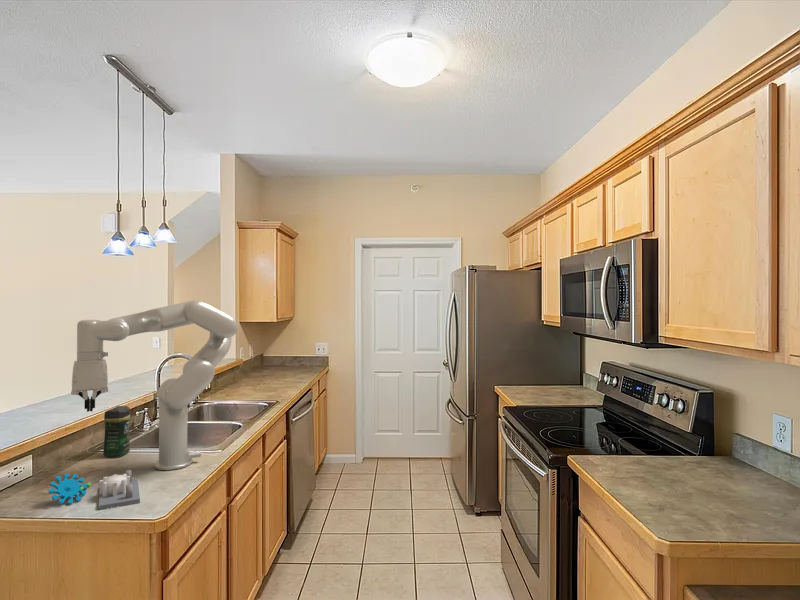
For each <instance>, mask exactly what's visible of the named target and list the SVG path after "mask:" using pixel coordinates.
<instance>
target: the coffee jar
mask: <svg viewBox="0 0 800 600" xmlns="http://www.w3.org/2000/svg"><path fill="white" fill-rule="evenodd" d="M103 419H104V420H103V421H104V439H103V440H104V442H103V457H106V458H110V459H115V458H116V457H123V456H125V455H126V454H128V453H129V452H130V451H131V450H130V449H131V448H130V446H131V445H130V444H131V441H130V421H131V408H130V407H128V406H127V405H117V406H115V407H113V408H110V409H107V410H105V412H104V416H103Z"/></svg>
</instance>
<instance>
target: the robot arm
mask: <svg viewBox="0 0 800 600" xmlns="http://www.w3.org/2000/svg"><path fill="white" fill-rule="evenodd" d="M193 324H194V325H197V326H199V327H200V328H202V329H203V330H206V331H208V332H209V338H208V339H207V341H206V343H204V344H203V346H202V347H201V348H200V349H199V350H198V351H197V352H196V353H195V354H193V356H192V357H191V358H189V359H188V360H187V361H186V362H185V363H184V364H183V367H182V373H181V375H179V377H178V378H175V377H172V378H168V379H166V380H164V381H163V382H162V383H161V385H160V386H159V388H158V395H157V396H158V397H157V398H158V399H157V401H158V417H159V418H158V460H156V461H155V462H154V463H153V467H154V469H156V470H158V471H159V470H160V471H173V470H179V469H183V468H186V467H188V466H189V465H192V461H193V460H192V458H200V457H201V458H202V452H201V451H197V450H193V451H189V449H188V420H189V416H188V415H189V414H188V411H189V410H188V406H189V405H190V404H191V403H192V402H193V401H194V400H195V399H196V398H198V396H199V395H200V394H201V393H202V392H203V391H204V390H205V389H206V388H207V387H208V386H209V385H210V384H211V383H212V381H213V379H214V378H215V373H216V369H215V367H217V365H219V363H220V362H221V361H222V360H223V359H224V358H225V356H227V354H228V352H229V350H230V349H231V345H232V337H234V336H235V335H236V333H237V332H238V329H239V328H238V327H239V326H238V325H239V324H238V322H237V320H236V319H235V318H234V317H232V316H231V315H229V314H227V313H225V312H224V311H221V310H219V309H217V308H215V307H214V306H212V305H210V304H209V303H206V302H205V301H202V300H189V301H184V302H180V303H179V302H178V303H175V304H170V305H165V306H161V307H157V308H152V309H149V310H145V311H141V312H140V311H139V312H137V313H136V312H135V313H133V314H128V315H127V314H126V315H122V316H118V317H113V318H109V319H108V320H99V319H83V320H79V321H78V322H77V323H76V360H74V362H73V367H72V374H71V375H72V376H71V391H70V394H71V395H74V396H79V397H81V398H82V399H83V400H84V410H86V413H87V412H93V409H96V399H97V397H99V396H100V395H101V394H105V393H108V392H109V387H108V383H109V382H108V381H109V380H108V379H109V378H108V365H107V364H108V363H107V360H106V359H105V358H104V357H109V353H108V352H105V351H104V341H109V342H119V341H120V342H121V341H123V340H125V339H126V338H127V337H129V336H134V335H138V334H144V333H150V332H151V333H155V332H165V331H168V330H172V329H177V328H180V327H184V326H189V325H193ZM88 391H92V395H91V396H89V394H88Z"/></svg>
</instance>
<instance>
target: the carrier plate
mask: <svg viewBox="0 0 800 600" xmlns="http://www.w3.org/2000/svg"><path fill="white" fill-rule="evenodd" d="M98 483H99V488H98V490H99V491H98V492H99V499H98V511H101V509H102V510H107V508H108V509H112V508H111V507H113V508H117V506H119V507H124V506H123V505H125V506H130V505H135V503H136V504H140V503H141V496H140V489H139V480H138V477H132V469H127V470H125V471H124V474H113V475H111V476H104V477H102V479H99V482H98ZM129 504H130V505H129Z"/></svg>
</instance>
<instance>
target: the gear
mask: <svg viewBox="0 0 800 600" xmlns="http://www.w3.org/2000/svg"><path fill="white" fill-rule="evenodd" d="M69 476H70V473H64V474H63V479H64V480H62V476H61V475H57V476H56V477H55V479H54V480H55V481H51V482H50V483H49V487H50V488H49V490H48V494H50V495H51V494H53V495H52V496H51V500H52V501H56V500H57V499H59V498H60V499H59V501H58V504H60V505H63V504H64V503H65V501H66V500H67V499H68V501H67V502H66V503H67V505H73V503H74V497H76V498H75V502H80V501H81V500H82V497H85V495H86V494H87V488H90V487H91V485H92V483H91V482H89V481H88V482H87V483H84V482H85V478H84V477H80V478H79V479H77V478H78V477H79V475H78V474H77V473H73V475H72V476H71V478H69ZM68 478H69V479H68ZM76 479H77V480H76ZM56 481H57V483H58V484H56ZM82 483H83V484H82ZM54 488H55V489H56V490H55V489H54ZM57 494H58V495H57Z"/></svg>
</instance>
